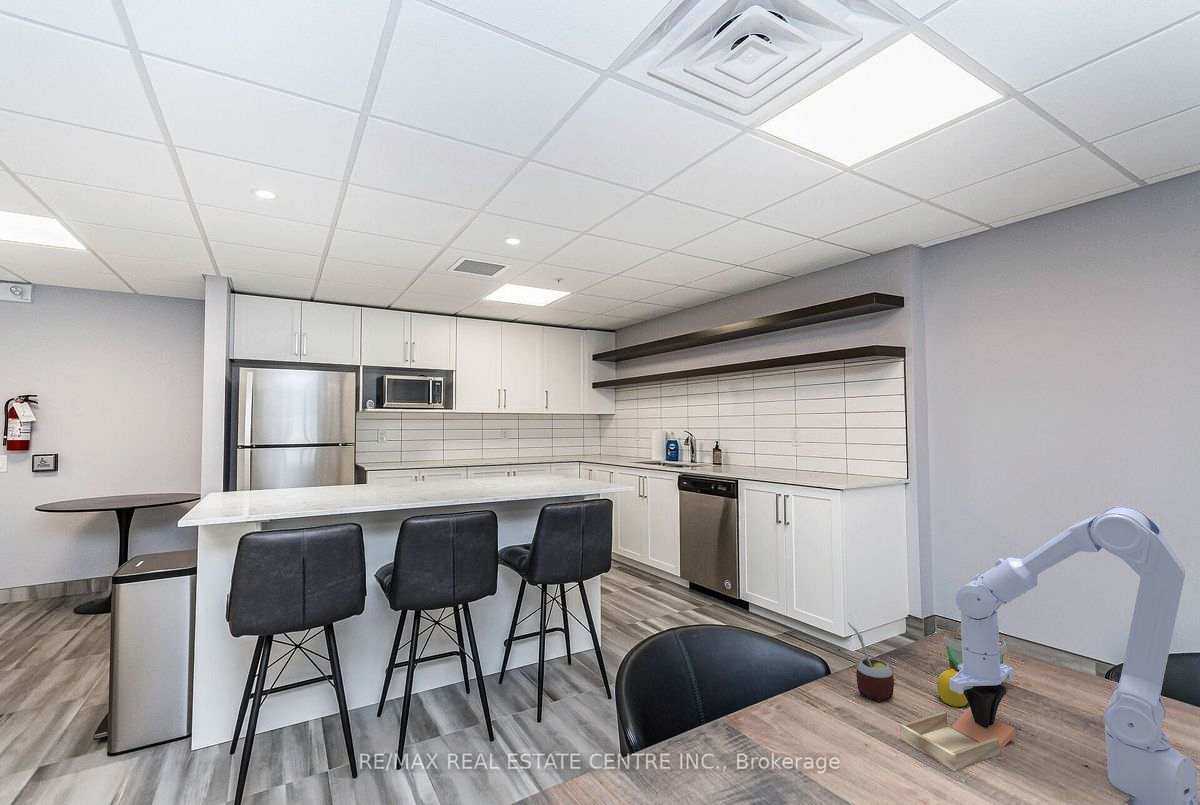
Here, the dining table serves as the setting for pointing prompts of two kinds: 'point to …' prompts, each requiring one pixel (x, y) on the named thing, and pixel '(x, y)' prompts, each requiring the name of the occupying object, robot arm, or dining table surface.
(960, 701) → the lemon
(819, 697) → the dining table surface
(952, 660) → the food container
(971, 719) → the panel
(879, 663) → the mate gourd
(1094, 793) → the dining table surface
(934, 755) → the cream shallow tray
